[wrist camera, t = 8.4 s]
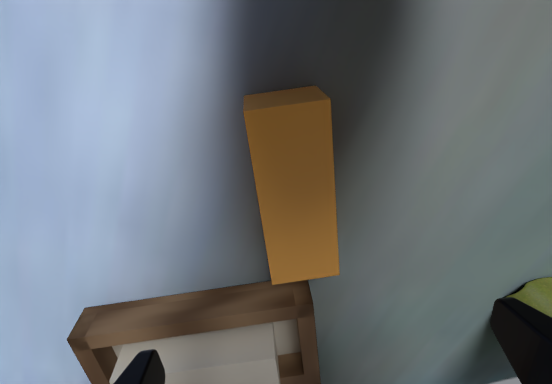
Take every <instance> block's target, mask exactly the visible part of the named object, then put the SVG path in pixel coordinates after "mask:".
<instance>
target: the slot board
mask: <svg viewBox="0 0 552 384" xmlns="http://www.w3.org/2000/svg"><path fill="white" fill-rule="evenodd" d="M271 322H273V326H274V332H275V338H276V345H277V354H278V364H279V375H280V384H321V382H320V371H319V360H318V350H317V339H316V329H315V318H314V307H313V301H312V297H311V292H310V288H309V284H308V280H302V281H295V282H289V283H282V284H275V285H272V281H266V282H259V283H252V284H245V285H238V286H232V287H225V288H218V289H211V290H204V291H197V292H191V293H184V294H177V295H170V296H163V297H156V298H150V299H143V300H136V301H129V302H122V303H115V304H109V305H102V306H95V307H88V308H84V310H83V312H82V314H81V315H80V317H79V319H78V321H77V322H76V324H75V326H74V328H73V329H72V331H71V333H70V335H69V337H68V338H67V341H68V343H69V345H70V347H71V348H72V350H73V352H74V354H75V355H76V357H77V359H78V361H79V362H80V364H81V366H82V368H83V370H84V371H85V373H86V375H87V377H88V378H89V380H90V382H91V384H110V382H109V381H110V378H111V375H112V373H113V370H114V368H115V365H116V362H117V360H118V357H119V354H120V352H121V349H122V347H123V344H130V343H136V342H143V341H150V340H157V339H163V338H170V337H177V336H184V335H190V334H197V333H204V332H211V331H217V330H224V329H231V328H238V327H244V326H251V325H258V324H265V323H271Z"/></svg>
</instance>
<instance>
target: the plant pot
mask: <svg viewBox="0 0 552 384" xmlns="http://www.w3.org/2000/svg"><path fill="white" fill-rule="evenodd" d="M506 297H513V298H516V299H518V300H520V301H522V302H524V303H526V304H527V305H529V306H531V307H533V308H535V309H537V310H539V311H541V312H542V313H544V314H546V315H548V316H550V317H552V277H547V278H540V279H536V280H533V281H530V282H528V283H526V284H525V286H524V287H523V289H522V290H520V291H519V292H517V293H515V294H513V295H509V296H506ZM506 297H505V298H506Z"/></svg>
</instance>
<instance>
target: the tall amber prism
mask: <svg viewBox="0 0 552 384" xmlns="http://www.w3.org/2000/svg"><path fill="white" fill-rule="evenodd" d="M243 112H244V118H245V124H246V130H247V136H248V142H249V148H250V154H251V160H252V166H253V172H254V178H255V184H256V190H257V196H258V202H259V208H260V214H261V220H262V226H263V232H264V238H265V244H266V250H267V256H268V262H269V268H270V274H271V280H272V285H275V284H282V283H289V282H295V281H302V280H309V279H316V278H322V277H329V276H336V275H339V255H338V235H337V215H336V196H335V176H334V156H333V137H332V117H331V99H330V98H329V97H328V96H327V95H326V94H325V93H323V92H322V91H321V90H320V89H319V88H318V87H317V86H316V85H315V86H308V87H301V88H294V89H287V90H280V91H272V92H265V93H258V94H251V95H244V107H243Z"/></svg>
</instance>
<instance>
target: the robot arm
mask: <svg viewBox="0 0 552 384" xmlns="http://www.w3.org/2000/svg"><path fill="white" fill-rule="evenodd" d="M490 324H491V328H492V330H493V332H494V334H495V336H496V338H497V340H498V341H499V343H500V345H501V347H502V349H503V351H504V353H505V354H506V356H507V358H508V360H509V362H510V364H511V365H512V367H513V369H514V371H515V373H516V375H517V377H518V378H519V380H520V382H521V383H522V384H552V317H550V316H548V315H546V314H544V313H542V312H541V311H539V310H537V309H535V308H533V307H531V306H529V305H527V304H526V303H524V302H522V301H520V300H518V299H516V298H513V297H506V298H499V299H497V300H496V301H495V302H494V306H493V310H492V315H491V319H490ZM113 384H165V369H164V366H163V364H162V361H161V359H160V356H159V354H158V352H157V350H155V349H150V350H144V351H140V352H139V353H138V354H137V355H136V356H135V357H134V359H133V360H132V361H131V362H130V363H129V365H128V366H127V367H126V368H125V370H124V371H123V372H122V373H121V375H120V376H119V377H118V378H117V380H116V381H115V382H114V383H113Z"/></svg>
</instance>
